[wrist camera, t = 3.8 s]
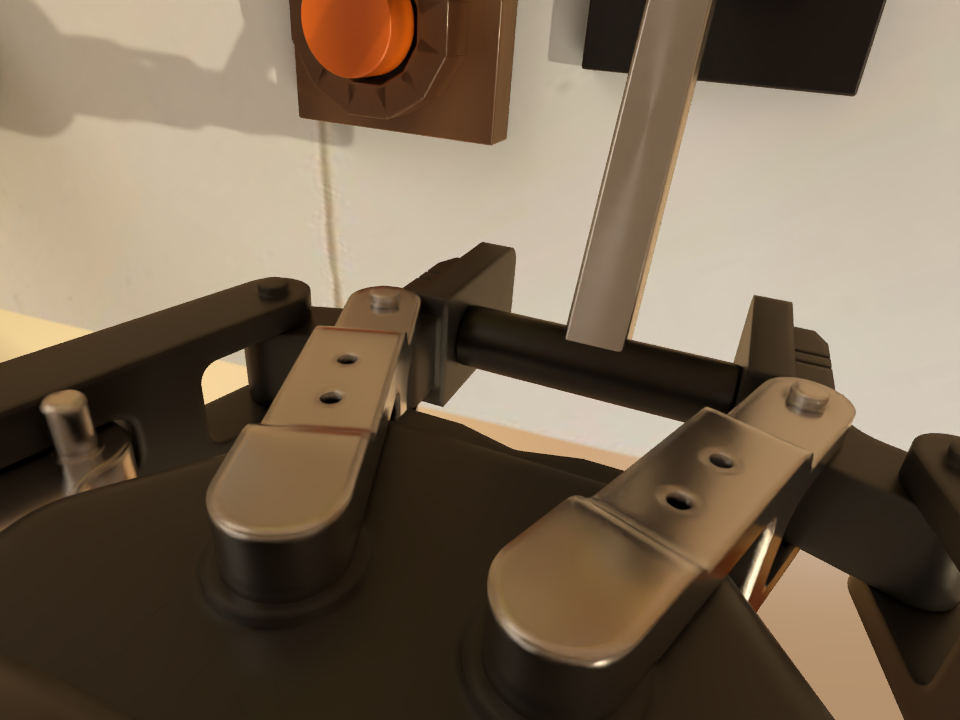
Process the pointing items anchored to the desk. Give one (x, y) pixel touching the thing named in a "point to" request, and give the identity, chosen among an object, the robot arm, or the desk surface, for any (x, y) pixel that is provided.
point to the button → (358, 34)
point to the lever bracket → (755, 42)
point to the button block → (424, 76)
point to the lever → (621, 252)
